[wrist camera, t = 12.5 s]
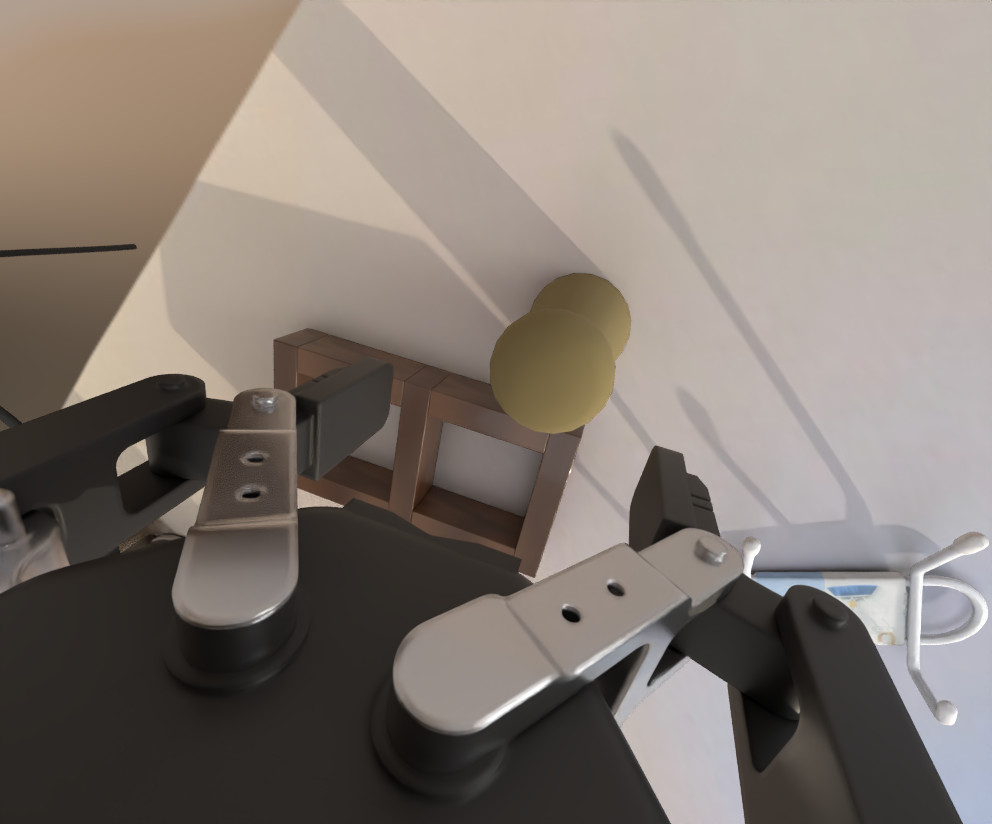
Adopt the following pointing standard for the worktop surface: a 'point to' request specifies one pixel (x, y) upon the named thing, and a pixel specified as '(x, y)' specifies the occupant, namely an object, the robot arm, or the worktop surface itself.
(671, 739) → the worktop surface
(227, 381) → the worktop surface
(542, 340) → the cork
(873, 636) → the wall mount rack
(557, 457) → the stand
